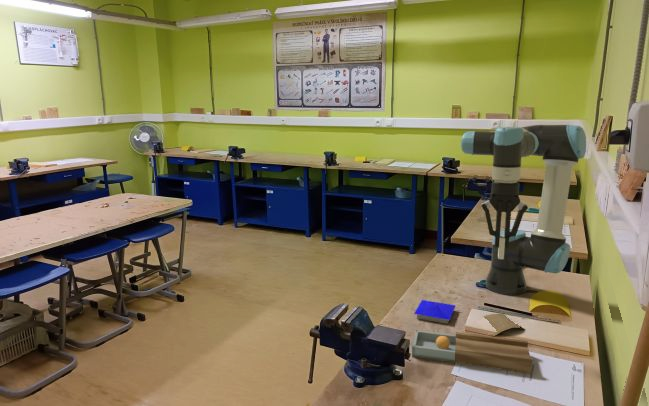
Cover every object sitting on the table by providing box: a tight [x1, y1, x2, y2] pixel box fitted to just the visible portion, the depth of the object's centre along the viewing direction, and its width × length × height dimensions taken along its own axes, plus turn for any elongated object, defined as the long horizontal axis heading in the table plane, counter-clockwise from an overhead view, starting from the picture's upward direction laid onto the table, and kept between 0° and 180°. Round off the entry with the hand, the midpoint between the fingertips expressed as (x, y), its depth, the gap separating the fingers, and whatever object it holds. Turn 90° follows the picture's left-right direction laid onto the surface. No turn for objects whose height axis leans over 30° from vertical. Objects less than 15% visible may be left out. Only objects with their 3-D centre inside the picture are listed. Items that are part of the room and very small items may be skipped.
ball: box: [436, 336, 450, 350], centre depth 131 cm, size 4×4×4 cm
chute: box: [455, 332, 533, 374], centre depth 127 cm, size 10×20×4 cm, turn 72°
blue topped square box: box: [414, 299, 456, 325], centre depth 155 cm, size 12×12×5 cm
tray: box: [411, 329, 456, 364], centre depth 132 cm, size 10×12×3 cm
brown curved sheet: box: [483, 312, 521, 337], centre depth 146 cm, size 14×10×3 cm
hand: (500, 257), depth 133 cm, fingers closed
